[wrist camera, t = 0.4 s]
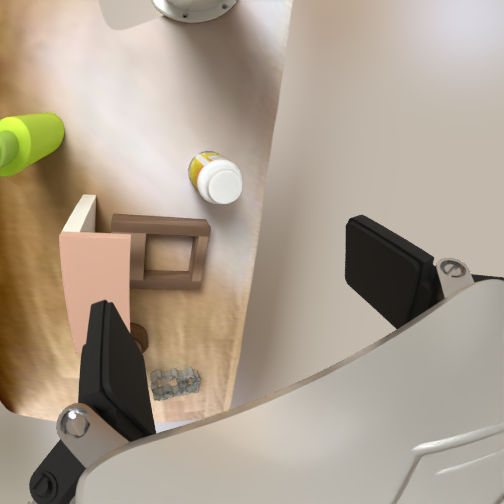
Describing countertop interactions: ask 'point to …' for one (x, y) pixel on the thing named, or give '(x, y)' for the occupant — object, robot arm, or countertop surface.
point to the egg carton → (181, 385)
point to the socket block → (167, 226)
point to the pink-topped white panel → (92, 269)
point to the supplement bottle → (215, 177)
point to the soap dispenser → (28, 140)
